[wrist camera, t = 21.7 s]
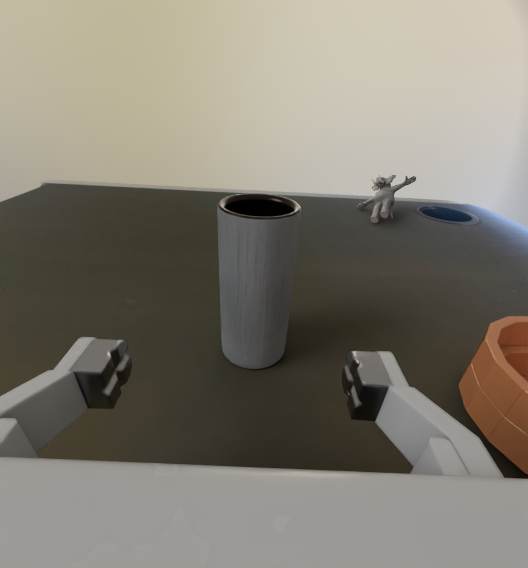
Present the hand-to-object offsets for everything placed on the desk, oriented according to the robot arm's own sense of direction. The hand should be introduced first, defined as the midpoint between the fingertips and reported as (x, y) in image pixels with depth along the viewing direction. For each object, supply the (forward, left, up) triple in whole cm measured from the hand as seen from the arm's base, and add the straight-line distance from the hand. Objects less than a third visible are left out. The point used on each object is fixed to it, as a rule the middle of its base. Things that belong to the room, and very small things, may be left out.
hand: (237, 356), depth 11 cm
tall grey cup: (+8, +2, -7) cm, 11 cm away
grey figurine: (+44, -7, -7) cm, 45 cm away
